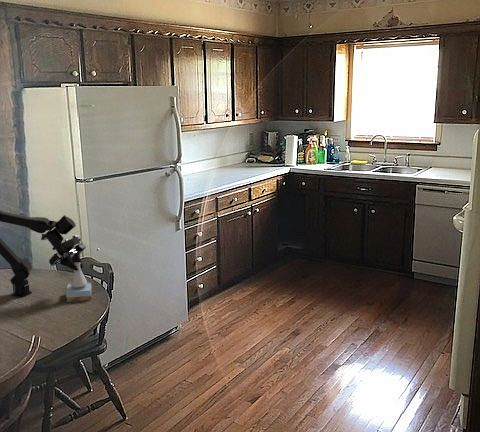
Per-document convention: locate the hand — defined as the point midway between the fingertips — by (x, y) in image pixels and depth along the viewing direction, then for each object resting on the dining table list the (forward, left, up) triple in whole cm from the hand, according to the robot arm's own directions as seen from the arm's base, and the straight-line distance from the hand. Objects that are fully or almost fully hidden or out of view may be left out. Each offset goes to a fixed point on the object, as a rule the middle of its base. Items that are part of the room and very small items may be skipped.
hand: (79, 269), depth 232 cm
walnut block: (-1, 0, -13) cm, 13 cm away
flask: (-1, 0, -8) cm, 8 cm away
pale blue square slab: (-1, 0, -11) cm, 11 cm away
